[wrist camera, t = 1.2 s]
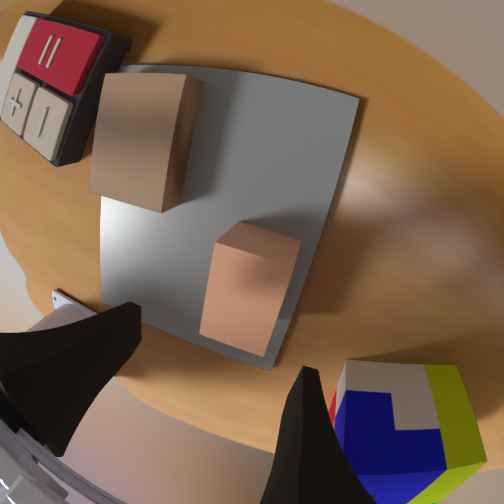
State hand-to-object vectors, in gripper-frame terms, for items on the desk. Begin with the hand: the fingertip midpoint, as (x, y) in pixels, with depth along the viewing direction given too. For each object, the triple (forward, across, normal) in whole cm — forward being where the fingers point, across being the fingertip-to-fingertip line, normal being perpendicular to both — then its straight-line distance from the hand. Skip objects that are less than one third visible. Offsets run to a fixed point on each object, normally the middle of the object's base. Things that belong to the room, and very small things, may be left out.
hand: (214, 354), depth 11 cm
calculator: (+9, +22, -12) cm, 26 cm away
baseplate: (+9, +5, -2) cm, 10 cm away
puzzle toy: (+9, -14, +9) cm, 19 cm away
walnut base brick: (+8, +9, -7) cm, 14 cm away
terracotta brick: (+8, 0, 0) cm, 8 cm away
